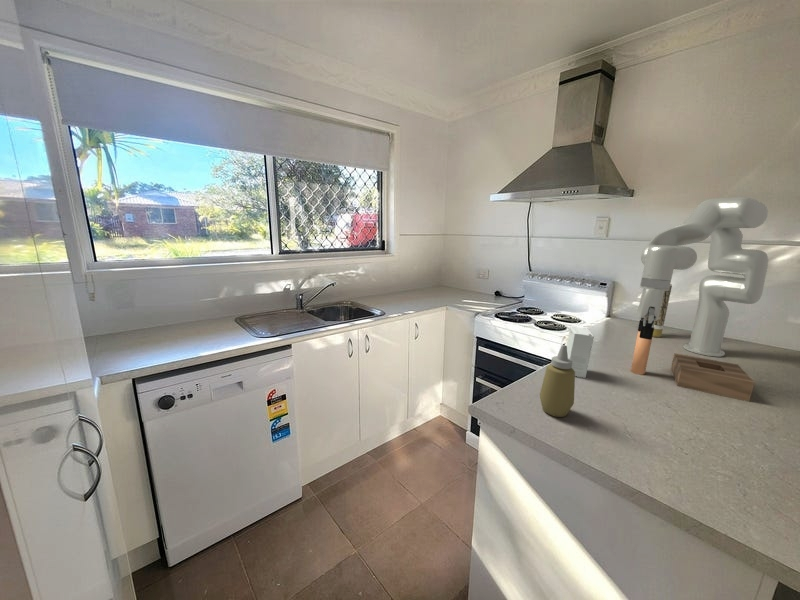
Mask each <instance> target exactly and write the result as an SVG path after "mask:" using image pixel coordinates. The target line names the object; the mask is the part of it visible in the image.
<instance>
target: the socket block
mask: <svg viewBox="0 0 800 600" xmlns="http://www.w3.org/2000/svg"><path fill="white" fill-rule="evenodd" d="M670 371H671V374H672V377H673V379H674V381H675V383H676V385H677V386H678V387H682V388H685V389H690V390H695V391H699V392H704V393H709V394H713V395H718V396H723V397H727V398H731V399H734V400H740V401H744V400H745V402H750V401H751V396H752V393H753V388H754V387H755V381H754V380H753V379H752V378H751V377H750V376H749V374H747V373H746V371H745V370H743V368H742V367H741V366H740V365H739V364H738V363H731V362H725V361H720V360H715V359H709V358H704V357H698V356H692V355H688V354H681V353H677V352H676V353H675V352H674V353H673V357H672V362H671V366H670Z"/></svg>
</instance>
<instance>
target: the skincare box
mask: <svg viewBox="0 0 800 600" xmlns="http://www.w3.org/2000/svg"><path fill="white" fill-rule="evenodd" d="M568 331H569V332H568V337H567V342H566V346H567V354H568V359H570V360H572V369H573V370H574V371H575V377H576V376H577V378H582V377H583V378H582V379H585V378H586V377H587V373H588V367H589V363H590V357H591V352H592V349H593V343H594V337H595V336H594V334H592V332H591V330H589V328H585V327H578V326H571V325H570V326H569V330H568Z"/></svg>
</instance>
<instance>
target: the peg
mask: <svg viewBox="0 0 800 600" xmlns="http://www.w3.org/2000/svg"><path fill="white" fill-rule="evenodd" d="M639 336H640V331H637V336H636V341H635V345H634V346H635V347H634V351H633V356H632V362H631V366H630V367H631V368H630V372H631V373H633V374H636V375H641V376H643V375H645V374H646V370H647V367H648V366H647V364H648V361H649V355H650V351H651V345H652V340H653V338H654V337H653V336H652V339H651V340H649V339H644V338H640V337H639Z"/></svg>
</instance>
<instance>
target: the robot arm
mask: <svg viewBox="0 0 800 600" xmlns="http://www.w3.org/2000/svg"><path fill="white" fill-rule="evenodd" d="M768 214H769V211H768V208H767V205H766V204H765V203H764V202H762V201H759V200H756V199H754V198H751V197H746V196H738V197H737V196H735V197H717V198H716V197H715V198H710V199H709V198H708V199H706V200H704V201H702V202H700V203H698V204H697V206H696V207H695V208H694V209H693V211H691V213H690V214H689V216H688V217H687V218H686V219H685V220H684V221H683V222H682V223H680V224H678V225H676V226H673V227H671V228H668V229H667V230H664V231H662V232H659V233H658V234H656V235H655V236H653V237H652V239H651V240H650V241H649V242H648V243H647V244H646V245H645V247H644V248H643V250H642V252H641V254H640V261H641V263H642V264H643V265H644V266H643V269H642V276H641V280H640V285H639V288H641V289H642V291H641V297H640V301H639V305H638V310H637V314H636V315H637V317H638V318H639V321H638V327H637V332H639V331H640V336H639V337H640V338H644V339H649V340H651V339H652V340H653V337H652V336H653V331H654V322H655V321H656V320H657V319H658V315H659V312H660V308H661V303H662V299H663V294H664V291H669V288H670V284H672V278H673V275H674V274H673V273H674V270H680V271H681V270H683V271H684V270H688V269H690V268H692V267H693V266H694V265H695V264H696V262H697V260H698V255H697V252H696V250H695V249H694V248H693V247H690V246H686V245H690V244H697V243H700V242H702V241H705V240H706V239H708V238H709V237H710V243H709V244H710V245H709V251H708V260H707V267H708V270H709V271H711V272H714V273H721V274H730V276H729V275H728V276H727V275H720V274H711V275H707V276H704V277H703V278H702V279H701V281H700V282H699V286H698V288H699V289H698V302H697V303H698V304H697V307H696V308H697V309H696V313H695V316H694V320H693V325H692V330H691V335H690V338H689V343H684V344H683V348H684V350H686V351H688V352H692V353H694V354H698V355H702V356H709V357H716V358H717V357H718V358H720V357H725V355H726V353H725V351H724V350H721V348H722V344H723V341H724V336H725V333H726V329H727V324H728V320H729V317H730V309H729V307H728V305H727V304H726V302H731V303H737V304H739V303H740V304H745V305H752V304H756V303H757V302H759V301H760V299H761V298H762V296H763V291H764V288H765V282H766V277H767V272H768V267H769V257H768V254H767V253H766V252H765V251H763V250H761V249H751V248H750V249H749V248H743V247H742V245H743V243H742V242H743V237H744V235H743V232H742V230H741V229H755V228H759V227H760V226H762V225H763V224H764V223H765V221H766V220H767V218H768ZM731 275H741V276H743V277H738V276H731Z"/></svg>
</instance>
